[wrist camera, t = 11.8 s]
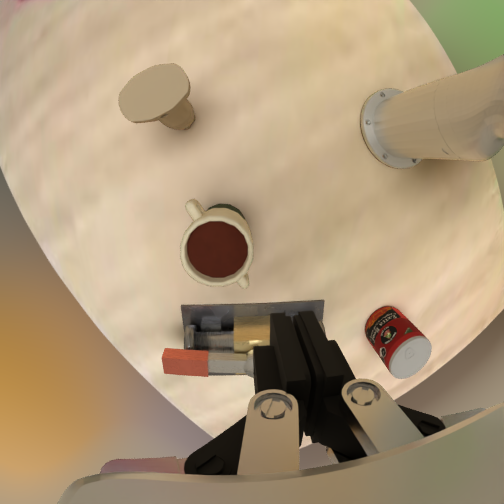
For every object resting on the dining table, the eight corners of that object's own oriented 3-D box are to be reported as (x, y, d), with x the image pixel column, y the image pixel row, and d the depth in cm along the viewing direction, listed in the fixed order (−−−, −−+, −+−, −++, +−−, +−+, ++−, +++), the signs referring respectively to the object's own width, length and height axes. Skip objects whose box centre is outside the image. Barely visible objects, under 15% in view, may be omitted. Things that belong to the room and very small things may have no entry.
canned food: (385, 296, 44) (418, 329, 33) (407, 318, 45) (439, 351, 35) (355, 329, 45) (381, 368, 35) (379, 348, 47) (405, 385, 36)
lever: (270, 348, 36) (272, 359, 34) (268, 368, 38) (270, 379, 35) (165, 344, 36) (161, 355, 33) (167, 364, 37) (164, 375, 34)
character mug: (179, 207, 38) (152, 226, 25) (222, 178, 37) (215, 182, 25) (223, 270, 41) (218, 314, 28) (265, 243, 40) (278, 278, 27)
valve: (323, 299, 43) (337, 322, 36) (315, 368, 47) (325, 394, 40) (181, 304, 42) (172, 328, 35) (192, 373, 46) (187, 401, 39)
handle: (212, 124, 35) (196, 97, 20) (169, 144, 35) (129, 132, 21) (198, 94, 33) (176, 54, 19) (156, 115, 34) (112, 88, 19)
